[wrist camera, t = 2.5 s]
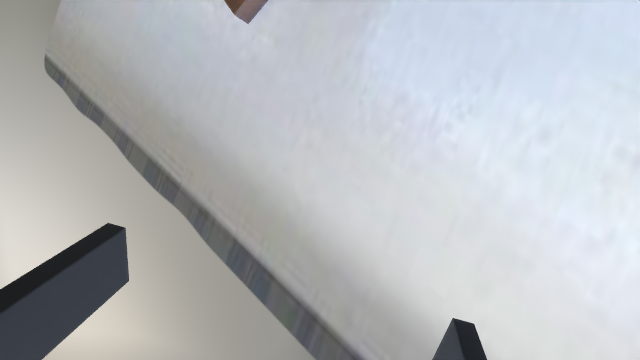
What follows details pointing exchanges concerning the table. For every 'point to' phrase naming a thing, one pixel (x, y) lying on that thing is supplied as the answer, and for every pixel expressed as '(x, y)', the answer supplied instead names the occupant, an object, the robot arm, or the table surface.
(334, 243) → the table surface
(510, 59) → the table surface
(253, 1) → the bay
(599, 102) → the table surface
